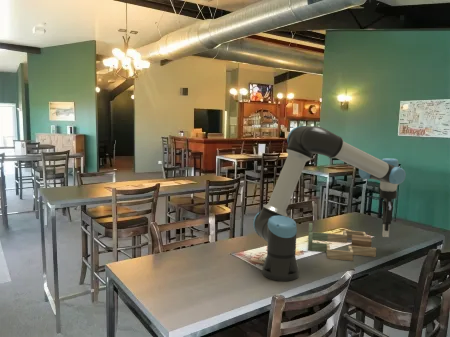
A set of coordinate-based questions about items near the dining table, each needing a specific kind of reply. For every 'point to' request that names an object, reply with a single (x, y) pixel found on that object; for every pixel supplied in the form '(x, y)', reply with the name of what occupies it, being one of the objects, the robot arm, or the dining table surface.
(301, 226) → the dining table surface
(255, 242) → the dining table surface
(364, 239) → the block
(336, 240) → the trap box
